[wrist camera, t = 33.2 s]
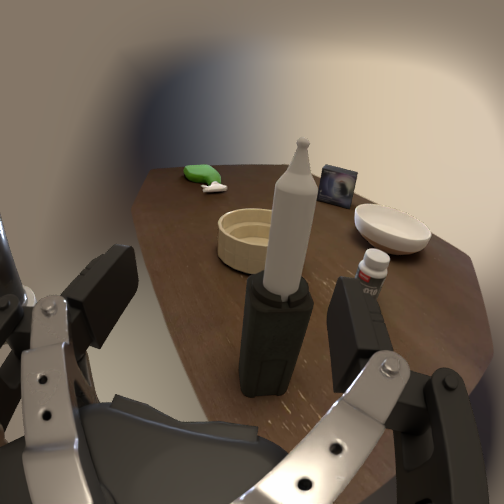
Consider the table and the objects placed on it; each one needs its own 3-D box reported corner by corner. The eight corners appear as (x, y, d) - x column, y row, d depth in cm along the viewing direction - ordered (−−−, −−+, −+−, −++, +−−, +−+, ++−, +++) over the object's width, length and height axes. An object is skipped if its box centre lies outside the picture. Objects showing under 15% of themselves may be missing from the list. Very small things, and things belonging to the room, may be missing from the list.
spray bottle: (210, 171, 101) (235, 193, 83) (181, 173, 97) (199, 196, 78) (210, 164, 100) (235, 184, 81) (181, 165, 95) (199, 186, 77)
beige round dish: (208, 270, 47) (208, 238, 44) (225, 231, 60) (227, 204, 57) (300, 283, 46) (306, 251, 43) (297, 240, 59) (302, 214, 56)
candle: (241, 398, 27) (272, 138, 15) (237, 361, 32) (259, 128, 19) (288, 394, 28) (356, 149, 15) (280, 360, 32) (326, 136, 20)
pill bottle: (345, 302, 43) (360, 256, 39) (351, 287, 46) (365, 244, 42) (373, 312, 41) (391, 267, 37) (376, 295, 45) (392, 253, 40)
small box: (315, 200, 83) (321, 167, 78) (319, 195, 88) (325, 163, 83) (349, 209, 80) (357, 175, 75) (351, 203, 85) (358, 171, 80)
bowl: (362, 218, 75) (367, 198, 72) (425, 244, 65) (433, 223, 62) (337, 242, 61) (343, 216, 58) (418, 275, 51) (429, 250, 48)
